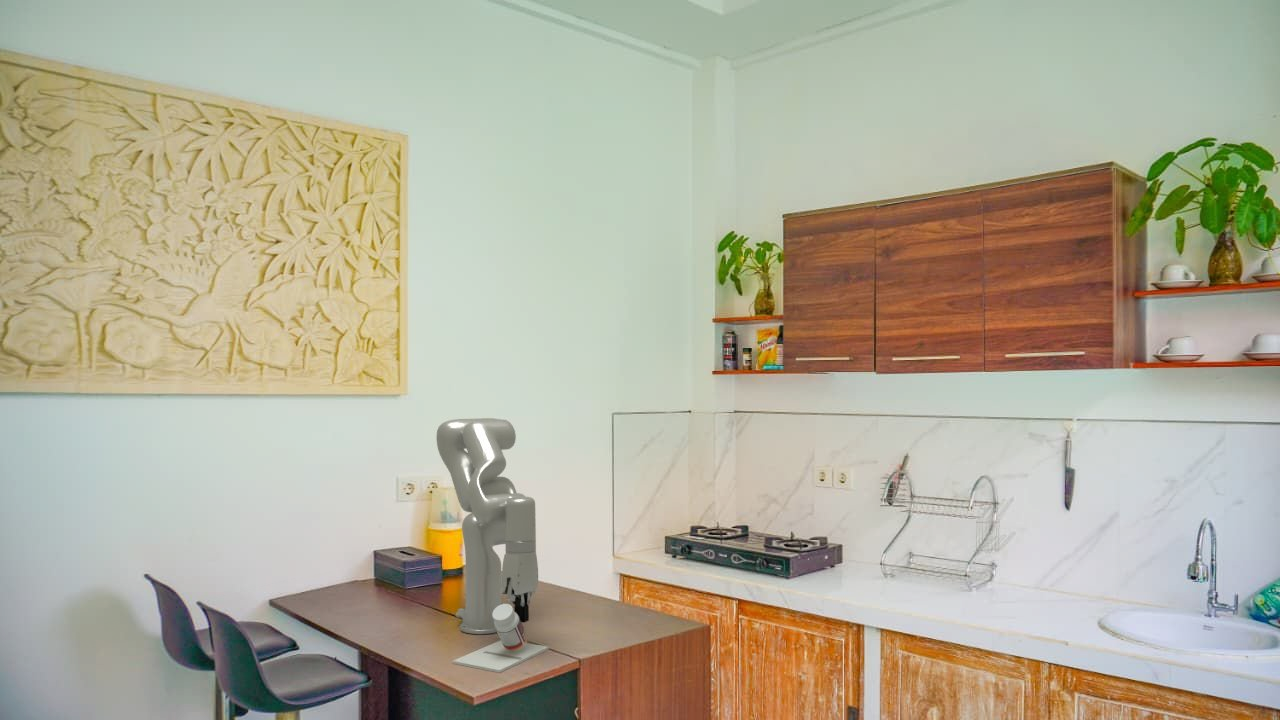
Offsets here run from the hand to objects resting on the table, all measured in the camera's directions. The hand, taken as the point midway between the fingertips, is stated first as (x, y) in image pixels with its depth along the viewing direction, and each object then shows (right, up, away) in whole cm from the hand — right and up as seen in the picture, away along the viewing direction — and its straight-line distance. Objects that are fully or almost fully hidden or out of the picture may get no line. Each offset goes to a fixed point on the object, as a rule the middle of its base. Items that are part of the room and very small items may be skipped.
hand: (521, 621), depth 226 cm
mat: (-4, -7, -4) cm, 9 cm away
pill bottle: (-1, -5, 0) cm, 5 cm away
